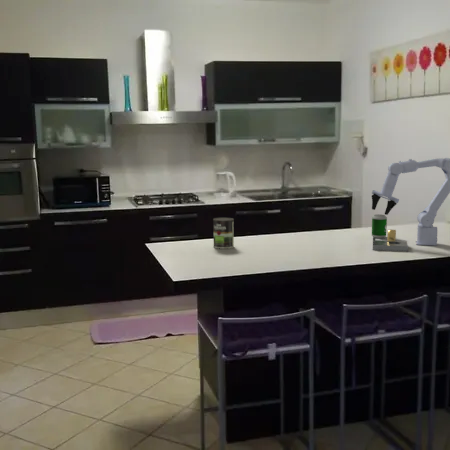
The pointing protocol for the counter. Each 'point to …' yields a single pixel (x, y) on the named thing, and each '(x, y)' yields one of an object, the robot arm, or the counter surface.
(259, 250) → the counter surface
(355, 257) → the counter surface
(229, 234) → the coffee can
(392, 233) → the bushing
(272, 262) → the counter surface
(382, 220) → the soda can
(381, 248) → the jig
